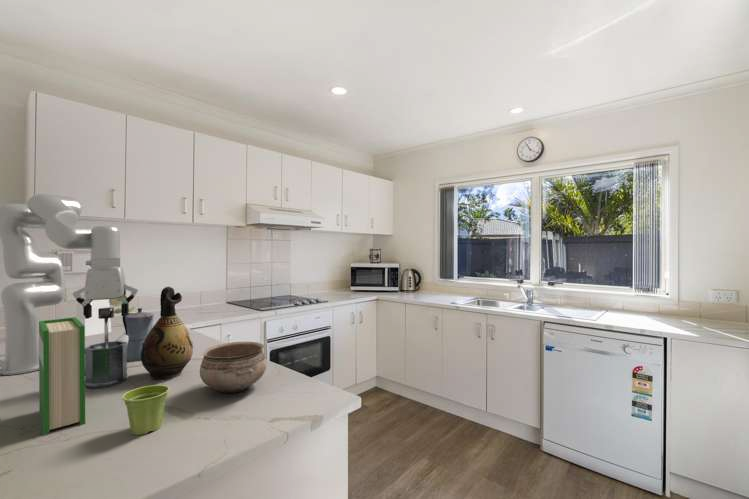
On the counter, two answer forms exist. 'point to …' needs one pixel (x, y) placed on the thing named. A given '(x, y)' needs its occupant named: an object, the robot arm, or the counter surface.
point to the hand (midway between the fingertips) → (106, 316)
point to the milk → (93, 317)
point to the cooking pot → (233, 366)
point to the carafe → (105, 365)
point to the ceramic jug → (167, 341)
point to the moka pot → (137, 332)
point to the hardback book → (61, 373)
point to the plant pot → (145, 407)
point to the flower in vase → (116, 303)
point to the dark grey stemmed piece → (106, 320)
